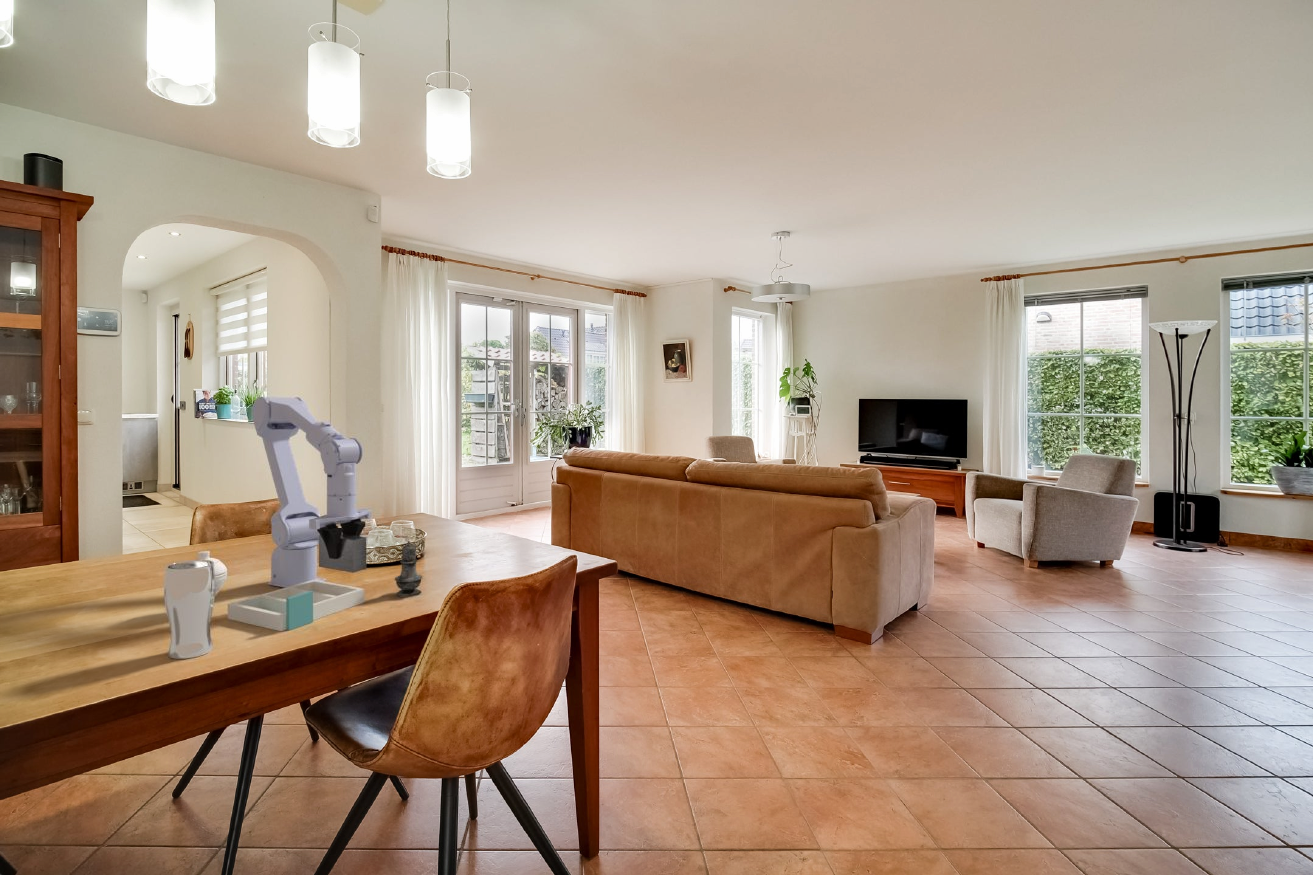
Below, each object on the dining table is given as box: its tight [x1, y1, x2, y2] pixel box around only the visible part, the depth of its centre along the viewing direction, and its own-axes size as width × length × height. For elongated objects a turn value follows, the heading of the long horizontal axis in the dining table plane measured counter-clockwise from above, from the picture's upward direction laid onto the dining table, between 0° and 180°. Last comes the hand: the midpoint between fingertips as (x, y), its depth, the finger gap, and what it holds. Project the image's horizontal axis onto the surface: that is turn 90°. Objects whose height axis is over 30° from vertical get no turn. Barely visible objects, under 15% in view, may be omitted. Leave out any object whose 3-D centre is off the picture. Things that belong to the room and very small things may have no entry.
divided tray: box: [227, 580, 366, 632], centre depth 128 cm, size 16×19×6 cm
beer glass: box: [163, 559, 216, 660], centre depth 106 cm, size 7×7×15 cm
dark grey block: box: [318, 533, 367, 574], centre depth 137 cm, size 10×4×7 cm, turn 68°
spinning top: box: [195, 550, 228, 597], centre depth 126 cm, size 8×8×12 cm
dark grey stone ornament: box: [394, 540, 424, 598], centre depth 141 cm, size 6×6×12 cm
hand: (341, 556), depth 137 cm, fingers closed on dark grey block, 3 cm apart
